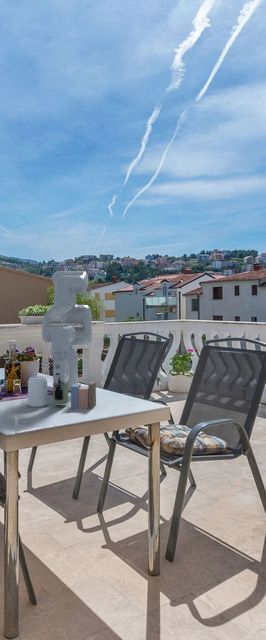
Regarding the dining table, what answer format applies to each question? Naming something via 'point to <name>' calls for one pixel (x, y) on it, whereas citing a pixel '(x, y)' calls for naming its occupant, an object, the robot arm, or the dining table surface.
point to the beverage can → (37, 391)
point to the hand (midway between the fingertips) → (60, 397)
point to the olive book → (65, 394)
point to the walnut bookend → (92, 394)
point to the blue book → (74, 395)
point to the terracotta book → (83, 397)
